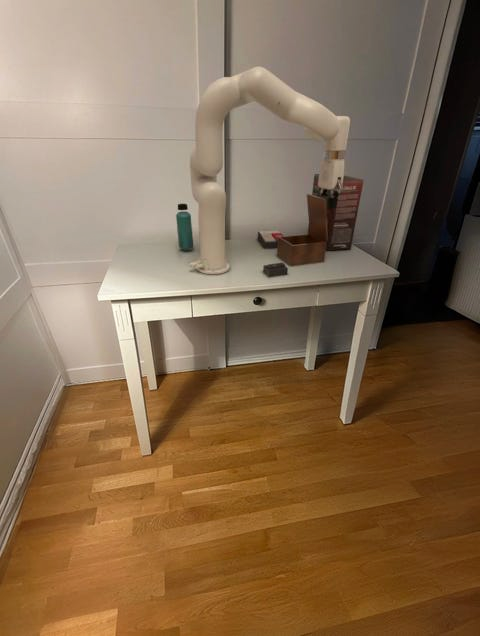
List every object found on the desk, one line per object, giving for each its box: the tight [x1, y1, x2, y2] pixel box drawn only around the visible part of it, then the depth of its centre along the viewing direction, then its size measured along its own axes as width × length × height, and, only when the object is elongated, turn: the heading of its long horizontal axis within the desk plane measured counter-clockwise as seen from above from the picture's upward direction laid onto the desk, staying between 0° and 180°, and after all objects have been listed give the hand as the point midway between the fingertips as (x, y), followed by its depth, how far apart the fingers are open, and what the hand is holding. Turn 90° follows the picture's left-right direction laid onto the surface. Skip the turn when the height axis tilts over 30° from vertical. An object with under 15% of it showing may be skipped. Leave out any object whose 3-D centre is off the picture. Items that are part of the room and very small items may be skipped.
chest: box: [276, 233, 327, 267], centre depth 130 cm, size 16×13×8 cm
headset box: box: [307, 173, 365, 251], centre depth 143 cm, size 25×12×33 cm, turn 12°
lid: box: [306, 193, 331, 241], centre depth 126 cm, size 16×13×6 cm
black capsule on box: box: [262, 261, 289, 278], centre depth 117 cm, size 8×5×4 cm
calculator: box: [257, 230, 284, 249], centre depth 149 cm, size 11×4×15 cm
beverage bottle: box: [175, 203, 194, 251], centre depth 134 cm, size 6×7×20 cm
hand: (327, 206), depth 124 cm, fingers closed on lid, 5 cm apart
